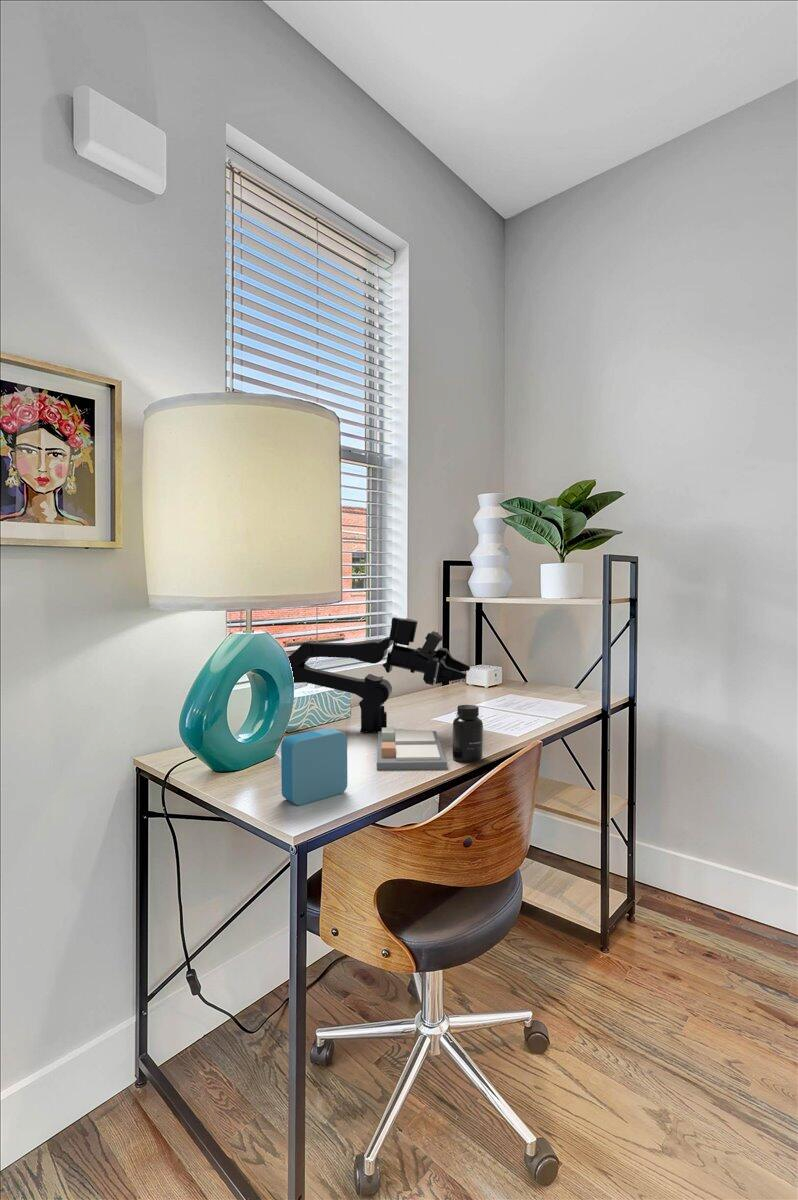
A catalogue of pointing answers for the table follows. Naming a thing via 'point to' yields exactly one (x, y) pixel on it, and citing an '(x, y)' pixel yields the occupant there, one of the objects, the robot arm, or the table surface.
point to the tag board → (409, 750)
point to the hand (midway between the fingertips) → (468, 672)
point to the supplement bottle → (467, 735)
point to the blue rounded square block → (313, 765)
